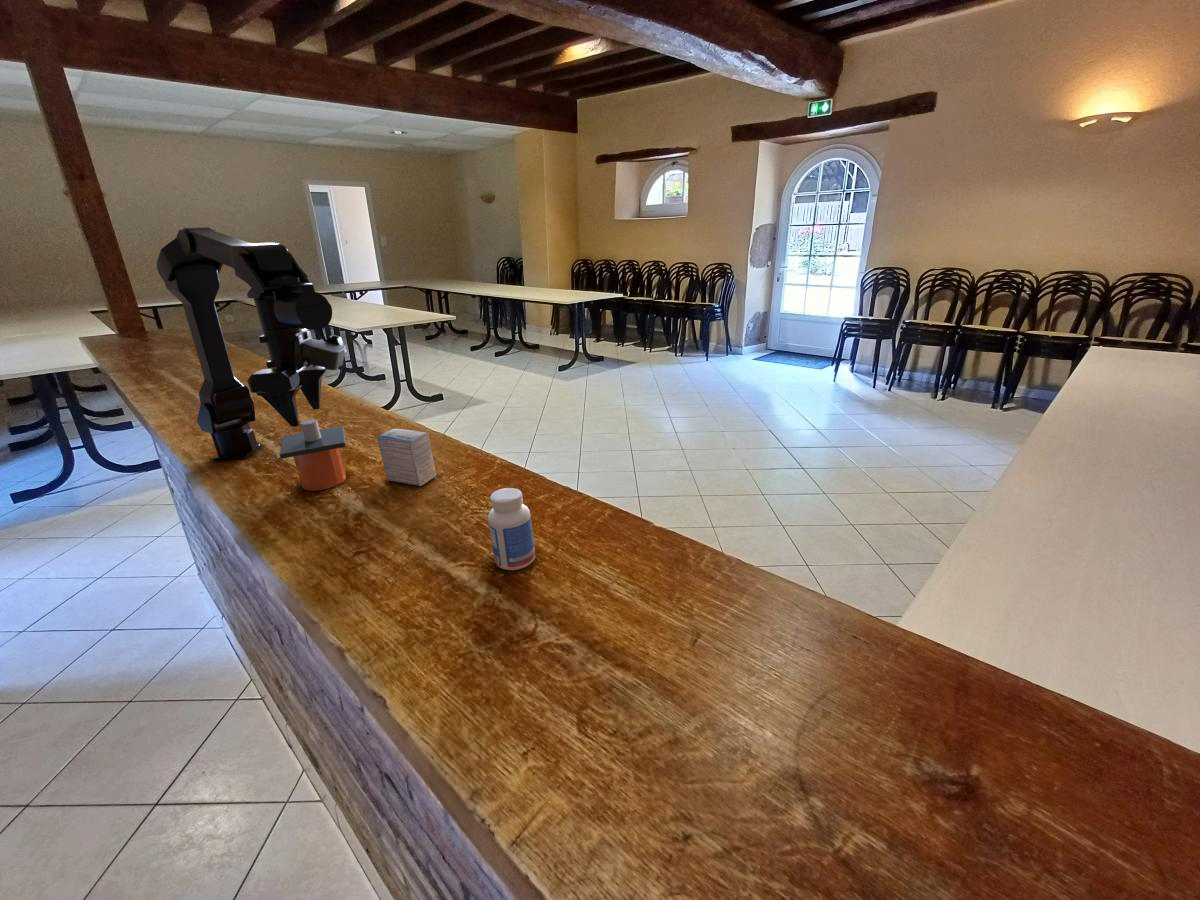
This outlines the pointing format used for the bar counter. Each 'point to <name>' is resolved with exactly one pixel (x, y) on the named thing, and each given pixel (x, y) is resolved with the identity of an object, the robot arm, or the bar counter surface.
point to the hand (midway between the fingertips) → (306, 417)
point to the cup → (320, 469)
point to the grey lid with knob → (312, 440)
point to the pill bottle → (511, 530)
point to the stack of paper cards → (407, 456)
